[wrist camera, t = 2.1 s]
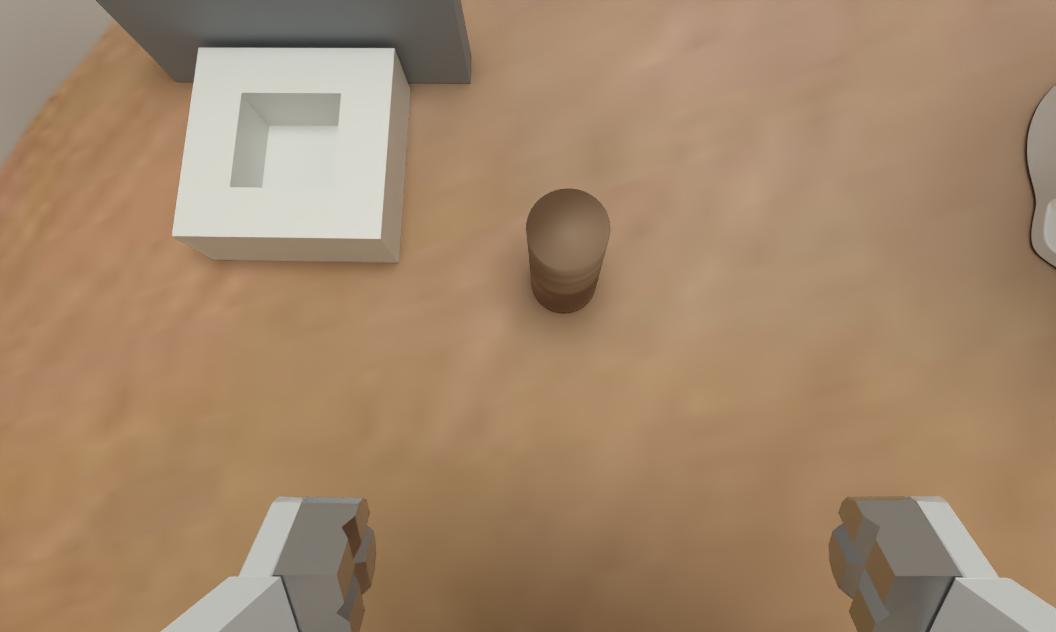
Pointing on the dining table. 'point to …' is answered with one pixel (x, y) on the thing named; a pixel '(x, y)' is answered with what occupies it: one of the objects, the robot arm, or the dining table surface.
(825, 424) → the dining table surface
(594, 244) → the walnut dowel
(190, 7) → the slate backstop wall
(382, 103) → the white socket block
